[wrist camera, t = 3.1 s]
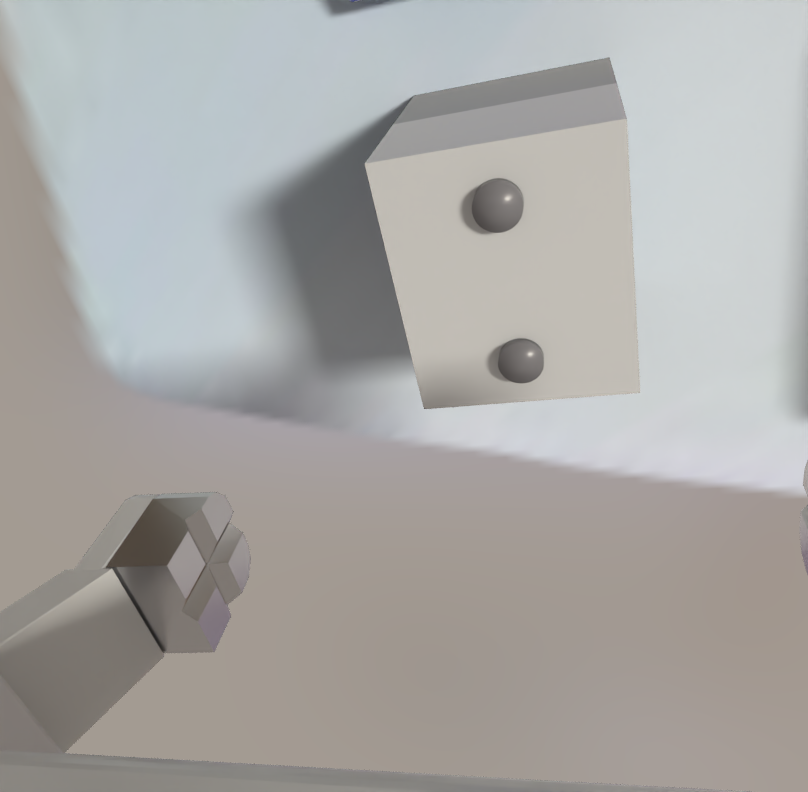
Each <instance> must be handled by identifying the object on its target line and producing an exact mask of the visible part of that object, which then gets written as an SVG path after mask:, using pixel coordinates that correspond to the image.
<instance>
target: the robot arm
mask: <svg viewBox="0 0 808 792" xmlns="http://www.w3.org/2000/svg"><path fill="white" fill-rule="evenodd" d="M803 486H804V488H805V490H806V493H807V495H808V461H807V464H806V467H805V471H804V481H803ZM232 514H233V510H232V508H231V506H230V504H229V502H228V500H227V498H226V496H225V495H222V494H220V493H217V492H209V493H174V494H161V495H135V496H133V497H131V498H128V499H126V500H125V501H124V503H123V504H122V505H121V507H120V508H119V510H118V511H117V512H116V513H115V515H114V516H113V518H112V519H111V520H110V521H109V523H108V524H107V525H106V527H105V528H104V529H103V531H102V532H101V534H100V535H99V536H98V538H97V539H96V540H95V542H94V543H93V544H92V546H91V547H90V548H89V550H88V551H87V552H86V554H85V555H84V556H83V558H82V559H81V561H80V562H79V563H78V565H77V566H76V567H75V568H74V570H64V571H63V572H61V573H60V574H58V575H56V576H55V577H53V578H52V579H50V580H49V581H47V582H46V583H44V584H43V585H41V586H39V587H38V588H37V589H35V590H33V591H32V592H30V593H29V594H27V595H26V596H24V597H23V598H21V599H19V600H18V601H16V602H15V603H13V604H12V605H10V606H9V607H7V608H6V609H4V610H2V611H1V612H0V792H750V791H732V790H713V789H695V788H675V787H658V786H638V785H621V784H602V783H583V782H566V781H548V780H529V779H510V778H492V777H475V776H457V775H440V774H422V773H404V772H387V771H369V770H352V769H334V768H316V767H299V766H281V765H262V764H245V763H244V764H243V763H226V762H209V761H190V760H173V759H156V758H136V757H120V756H101V755H84V754H83V755H82V754H66V753H65V752H66V751H67V750H68V749H69V748H70V747H71V746H72V745H73V744H74V743H75V742H76V741H77V740H78V739H79V738H80V737H81V736H82V735H83V734H85V732H87V731H88V730H89V729H90V728H91V727H92V726H93V725H94V724H95V723H96V722H97V721H98V720H99V719H100V718H101V717H102V716H103V715H104V714H105V713H106V712H107V711H108V710H109V709H110V708H111V707H112V706H113V705H114V704H115V703H117V701H119V700H120V699H121V698H122V697H123V696H124V695H125V694H126V693H127V692H128V691H129V690H130V689H131V688H132V687H133V686H134V685H135V684H136V683H137V682H138V681H139V680H140V679H141V678H142V677H143V676H144V675H145V674H146V673H147V672H149V671H150V670H151V669H152V668H153V667H154V666H155V664H157V663H158V662H159V661H160V660H161V659H162V658H163V657H164V654H163V653H197V652H215V649H216V647H217V645H218V643H219V641H220V638H221V637H222V635H223V632H224V630H225V628H226V626H227V624H228V622H229V619H230V618H231V614H230V611H229V608H228V604H229V603H230V602H231V601H233V600H234V599H235V598H236V597H237V596H239V595H240V594H241V593H242V592H243V589H244V587H245V585H246V582H247V580H248V578H249V570H250V561H251V557H250V552H249V546H248V543H247V541H246V538H245V536H244V534H243V532H241V531H240V530H239V529H237V528H236V527H235V526H233V525H232V524H231V523H229V522H230V520H231V517H232ZM800 516H801V517H800V540H801V550H802V556H803V560H804V564H805V568H806V571H807V574H808V505H807V506H806V507H805V508H804V509H803V510H802V511H801V515H800Z"/></svg>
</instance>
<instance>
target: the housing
mask: <svg viewBox="0 0 808 792" xmlns="http://www.w3.org/2000/svg"><path fill="white" fill-rule="evenodd" d="M365 168H366V172H367V176H368V180H369V185H370V189H371V193H372V197H373V201H374V205H375V209H376V213H377V217H378V222H379V226H380V230H381V234H382V238H383V242H384V246H385V250H386V254H387V259H388V263H389V267H390V271H391V275H392V279H393V283H394V287H395V291H396V296H397V300H398V304H399V308H400V312H401V316H402V320H403V324H404V328H405V333H406V337H407V341H408V345H409V349H410V353H411V357H412V361H413V365H414V370H415V374H416V378H417V382H418V386H419V390H420V394H421V398H422V402H423V407H424V409H432V408H445V407H458V406H472V405H485V404H498V403H511V402H525V401H538V400H551V399H564V398H577V397H591V396H604V395H617V394H630V393H640V381H639V361H638V340H637V320H636V299H635V278H634V258H633V237H632V216H631V196H630V175H629V155H628V134H627V118H626V114H625V111H624V107H623V103H622V100H621V96H620V93H619V89H618V86H617V82H616V79H615V75H614V72H613V68H612V65H611V61H610V58H604V59H599V60H594V61H589V62H584V63H578V64H573V65H568V66H563V67H558V68H553V69H548V70H543V71H537V72H532V73H527V74H522V75H517V76H512V77H507V78H501V79H496V80H491V81H486V82H481V83H476V84H471V85H466V86H460V87H455V88H450V89H445V90H440V91H435V92H430V93H425V94H419V95H414V96H413V98H412V99H411V100H410V102H409V103H408V104H407V106H406V107H405V109H404V110H403V111H402V113H401V114H400V115H399V117H398V118H397V120H396V121H395V122H394V124H393V125H392V126H391V128H390V129H389V131H388V132H387V133H386V135H385V136H384V138H383V139H382V140H381V142H380V143H379V144H378V146H377V147H376V149H375V150H374V151H373V153H372V154H371V155H370V157H369V158H368V160H367V161H366V162H365Z"/></svg>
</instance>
